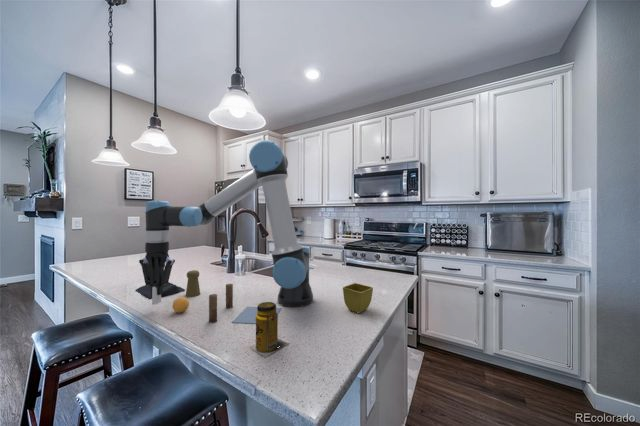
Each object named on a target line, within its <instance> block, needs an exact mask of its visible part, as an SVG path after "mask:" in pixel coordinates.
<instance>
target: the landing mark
mask: <svg viewBox="0 0 640 426" xmlns="http://www.w3.org/2000/svg"><path fill="white" fill-rule="evenodd" d="M281 310H282V307H276V313H277V315H278V316H279V313H280V312H281ZM256 315H257V306H245V308H244V309H243V310H242V311H241V312H240V313H239V314H238V315H237V316H236V317H235V318H234V319H233V320H232V321H231V323H232V324H247V325H248V324H251V325H253V324H254V325H256Z"/></svg>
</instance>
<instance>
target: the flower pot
mask: <svg viewBox="0 0 640 426" xmlns="http://www.w3.org/2000/svg"><path fill="white" fill-rule="evenodd" d="M373 289H374V287H372V286H369V285H364V284H361V283H359V282H358V283H357V282H354V283H351V284H348V285H345V286H343V287H342V293H343V301H344V303H345V306H346V307H347V309H348V310H349V311H351V310H352V311H351V312H354V311H355V312H354V313H356V312H358V313H357V314H361V313H363V312H365V311H367V310H368V308H369V306H370V305H371V302H372V297H373V291H374V290H373ZM364 310H365V311H364ZM362 311H363V312H362ZM360 312H361V313H360Z"/></svg>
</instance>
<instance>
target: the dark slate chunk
mask: <svg viewBox="0 0 640 426" xmlns="http://www.w3.org/2000/svg"><path fill="white" fill-rule="evenodd" d="M134 291H135V292H137V293H138V294H139V293H140V294H141V295H140V294H139V295H140V296H142V297H144V298H146V299H147V298H148V300H152V295H151V287H150V285H146V284H144V285H142V286H140V287H138V288H136V289H135V290H134ZM183 292H186V289H185V288H184V287H181V286H178V285H176V284H174V283H171V282H170V281H168V284H165V285H163V293H162V294H161V298H163V297H164V298H165V297H170V296H173V295H176V294H181V293H183Z"/></svg>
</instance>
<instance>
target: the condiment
mask: <svg viewBox="0 0 640 426" xmlns="http://www.w3.org/2000/svg"><path fill="white" fill-rule="evenodd" d="M256 307H257V315H256V324H255V344H253V345H251V346H249V348H250V349H252V350H253V351H255V352H256V353H258V354H260V355H261V356H263V357H265V358H267V357H268V356H270V355H272V354H273V353H275V352H277V351H279V350H280V349H282V348H285V347H286V346H287V345H289V344H290V343H289V342H286V341H284V340H283V339H280V338H278V329H279V327H278V322H279V321H278V320H279V319H278V318H279V317H278V316H279V314H278V315H277V313H276V308H277V304H276V302H275V303H274V302H272V301H265V302H261V303H259V304H258V305H257V306H256ZM279 346H280V347H279ZM277 347H279V348H277Z"/></svg>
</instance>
